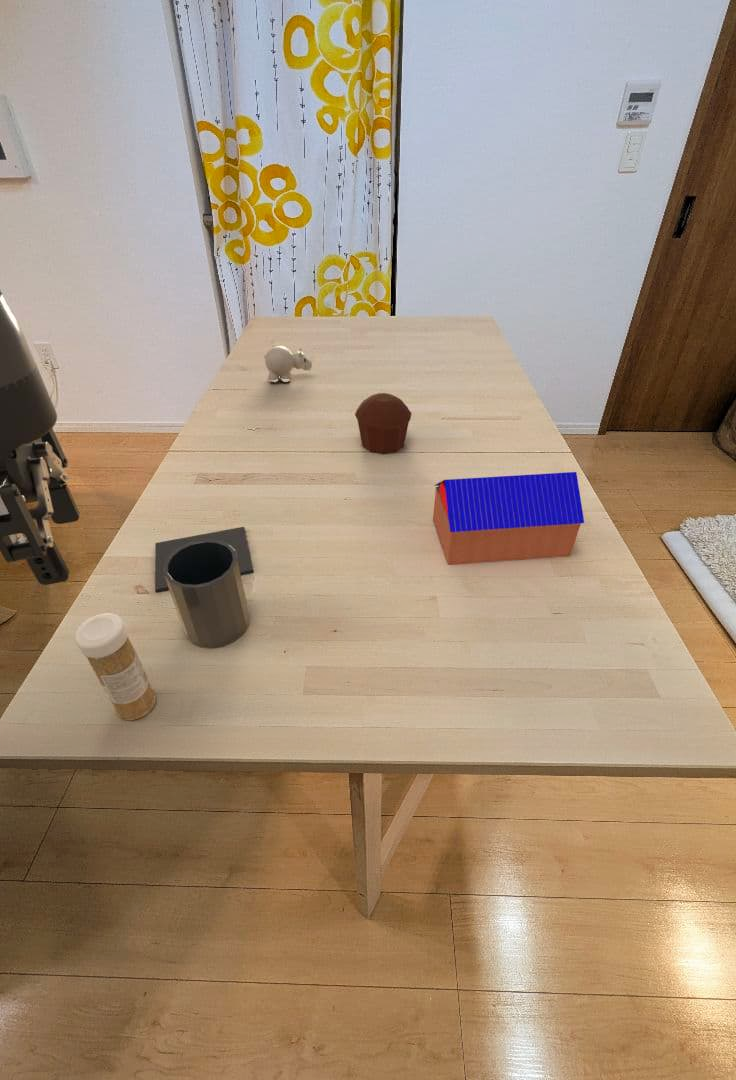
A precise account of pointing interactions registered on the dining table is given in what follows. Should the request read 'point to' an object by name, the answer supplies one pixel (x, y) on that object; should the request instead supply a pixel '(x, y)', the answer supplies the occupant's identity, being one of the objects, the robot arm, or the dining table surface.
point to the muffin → (383, 423)
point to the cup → (208, 592)
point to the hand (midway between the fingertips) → (62, 548)
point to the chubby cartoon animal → (285, 362)
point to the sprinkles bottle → (116, 665)
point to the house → (507, 517)
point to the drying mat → (230, 536)
